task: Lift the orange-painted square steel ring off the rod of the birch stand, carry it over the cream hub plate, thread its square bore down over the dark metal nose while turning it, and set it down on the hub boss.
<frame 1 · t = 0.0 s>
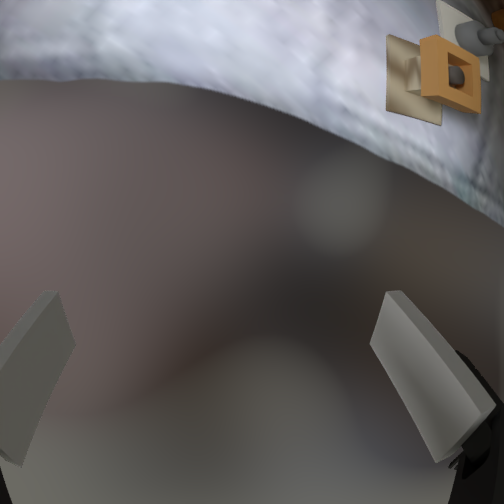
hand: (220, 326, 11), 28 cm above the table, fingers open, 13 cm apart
ring: (443, 76, 25), point 7 cm above the table, touching stand
disposable coffee cup: (499, 25, 25), on the table
stand: (414, 80, 31), on the table
hub: (463, 41, 28), on the table
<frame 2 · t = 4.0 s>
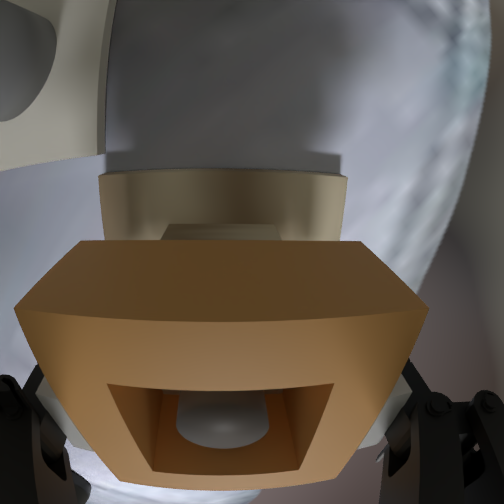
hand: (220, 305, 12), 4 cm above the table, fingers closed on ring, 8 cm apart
ring: (220, 354, 9), point 7 cm above the table, touching gripper, stand
stand: (221, 262, 16), on the table
hub: (22, 68, 10), on the table
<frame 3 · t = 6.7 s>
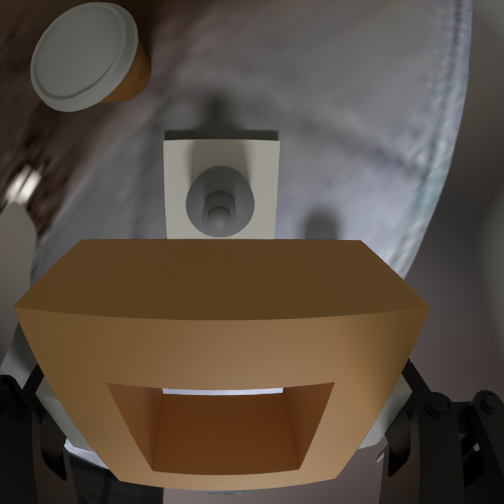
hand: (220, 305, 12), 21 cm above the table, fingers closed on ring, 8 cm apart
ring: (220, 353, 9), point 24 cm above the table, touching gripper
disposable coffee cup: (124, 75, 25), on the table
hub: (220, 193, 31), on the table
when the fingers open (3 cm above the table, at t = 9.9 s): ring drops 1 cm, resting on hub.
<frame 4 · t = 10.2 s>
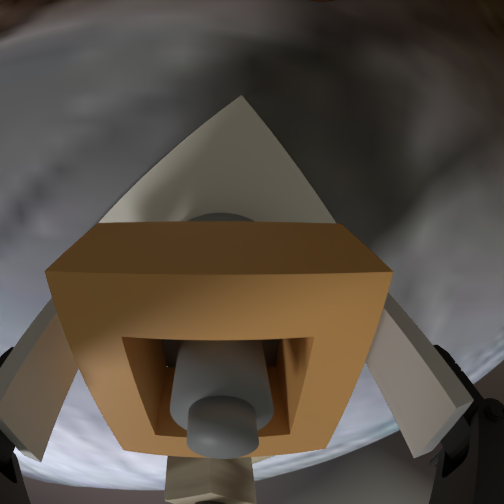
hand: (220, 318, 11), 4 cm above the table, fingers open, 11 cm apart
ring: (219, 325, 11), point 5 cm above the table, touching hub
stand: (209, 436, 22), on the table
hub: (221, 267, 15), on the table
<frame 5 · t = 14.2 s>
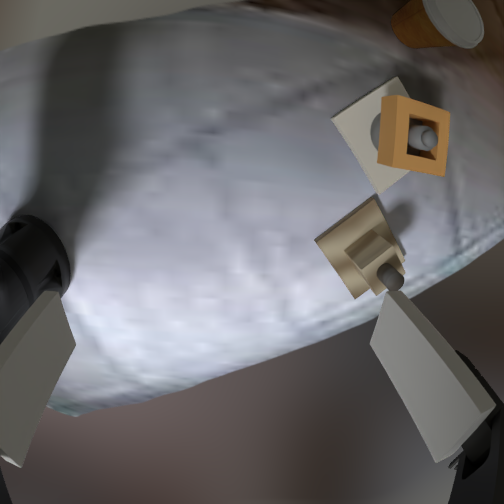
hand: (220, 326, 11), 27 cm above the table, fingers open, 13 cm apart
ring: (407, 135, 29), point 5 cm above the table, touching hub
disposable coffee cup: (407, 30, 27), on the table
stand: (362, 249, 40), on the table
hub: (387, 133, 34), on the table
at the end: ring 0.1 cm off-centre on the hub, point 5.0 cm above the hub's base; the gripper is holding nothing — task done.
